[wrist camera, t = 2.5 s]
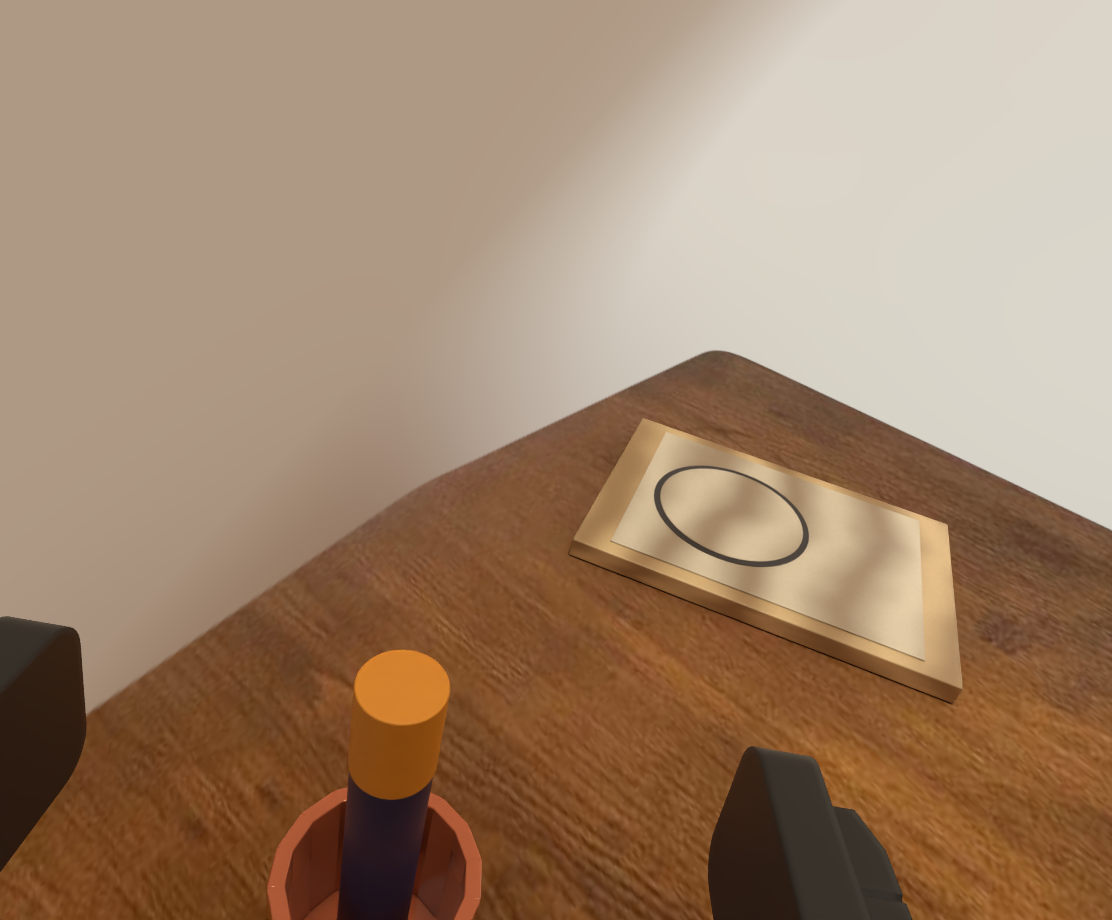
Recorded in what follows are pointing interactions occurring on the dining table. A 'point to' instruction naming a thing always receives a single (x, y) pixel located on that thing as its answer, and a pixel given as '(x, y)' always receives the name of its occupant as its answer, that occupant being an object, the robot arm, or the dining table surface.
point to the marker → (389, 781)
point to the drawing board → (781, 555)
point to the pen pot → (316, 856)
